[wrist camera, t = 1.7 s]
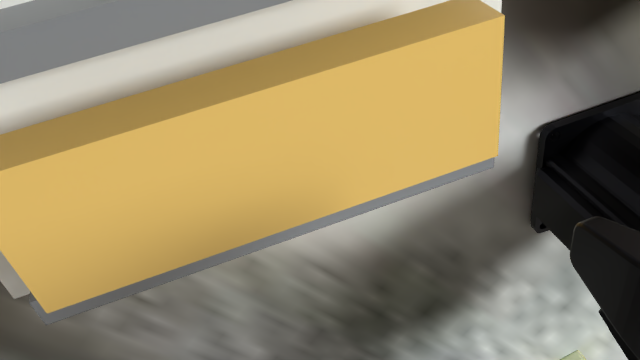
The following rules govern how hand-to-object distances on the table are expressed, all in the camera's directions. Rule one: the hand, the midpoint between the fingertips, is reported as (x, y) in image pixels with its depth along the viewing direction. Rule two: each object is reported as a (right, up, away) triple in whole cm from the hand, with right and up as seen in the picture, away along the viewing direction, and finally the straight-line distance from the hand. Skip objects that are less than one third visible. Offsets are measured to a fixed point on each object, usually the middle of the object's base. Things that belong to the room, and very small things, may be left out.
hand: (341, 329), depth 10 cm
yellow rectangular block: (-2, +4, +5) cm, 6 cm away
